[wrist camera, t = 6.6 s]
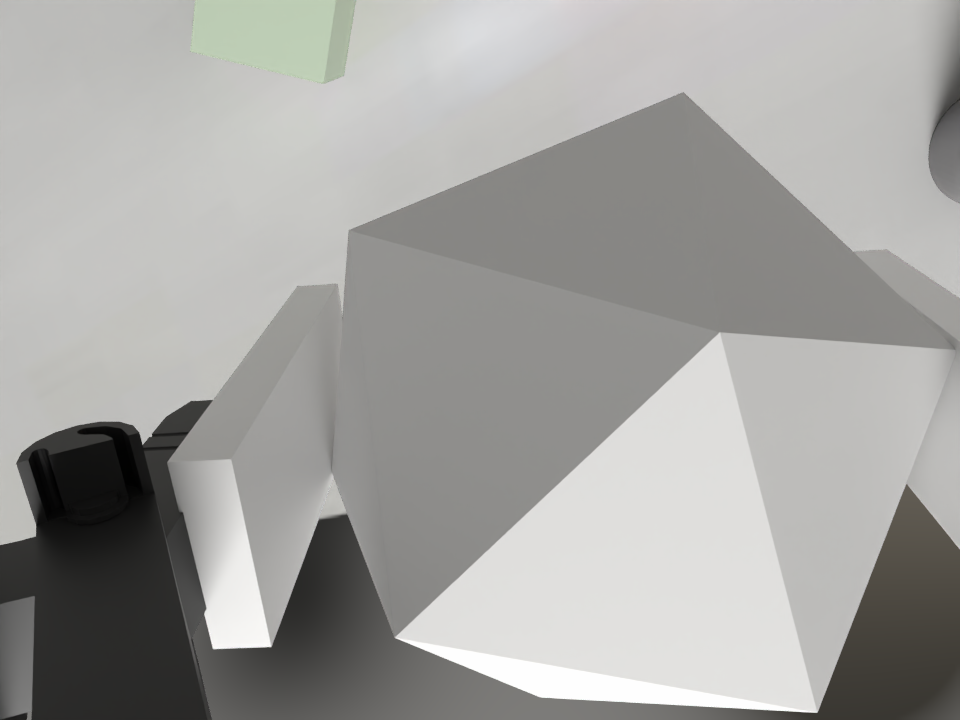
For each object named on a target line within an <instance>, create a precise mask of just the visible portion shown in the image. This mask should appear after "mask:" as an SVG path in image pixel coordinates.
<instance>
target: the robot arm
mask: <svg viewBox="0 0 960 720" xmlns="http://www.w3.org/2000/svg"><path fill="white" fill-rule="evenodd" d="M854 253H855V254H856V255H857V256H858V257H859V258H860V259H861V260H862V261H863V262H865V263H866V264H867V265H868V266H869V267H870V268H871V269H872V270H873V271H874V272H875V273H876V274H877V275H878V276H879V277H880V278H882V279H883V280H884V281H885V282H886V283H887V284H888V285H889V286H890V287H891V288H892V289H893V290H894V291H895V292H896V293H897V294H899V295H900V296H901V297H902V298H903V299H904V300H905V301H906V302H907V303H908V304H909V305H910V306H911V307H912V308H913V309H915V310H916V311H917V312H918V313H919V314H920V315H921V316H922V317H923V318H924V319H925V320H926V321H927V322H928V323H929V324H930V325H932V326H933V327H934V328H935V329H936V330H937V331H938V332H939V333H940V334H941V335H942V336H943V337H944V338H945V339H946V340H947V341H949V342H950V343H951V344H952V345H953V346H954V348H955V350H956V356H955V359H954V361H953V364H952V366H951V369H950V371H949V374H948V377H947V379H946V382H945V384H944V387H943V390H942V392H941V395H940V397H939V400H938V402H937V405H936V408H935V410H934V413H933V415H932V418H931V421H930V423H929V426H928V428H927V431H926V433H925V436H924V439H923V441H922V444H921V446H920V449H919V451H918V454H917V457H916V459H915V462H914V464H913V467H912V470H911V472H910V475H909V477H908V480H907V482H906V483H907V485H908V486H909V487H910V488H911V490H912V491H913V492H914V493H915V495H916V496H917V497H918V498H919V499H920V501H921V502H922V503H923V504H924V505H925V507H926V508H927V509H928V510H929V512H930V513H931V514H932V516H933V517H934V518H935V519H936V520H937V522H938V523H939V524H940V525H941V527H942V528H943V529H944V530H945V531H946V533H947V534H948V535H949V536H950V538H951V539H952V540H953V541H954V543H955V544H956V545H957V546H958V548H959V549H960V298H958V297H957V296H955V295H954V294H952V293H951V292H949V291H948V290H946V289H945V288H943V287H942V286H940V285H939V284H937V283H936V282H934V281H933V280H931V279H930V278H928V277H927V276H925V275H924V274H923V273H921V272H920V271H918V270H917V269H915V268H914V267H912V266H911V265H909V264H908V263H906V262H905V261H903V260H902V259H900V258H899V257H897V256H896V255H894V254H893V253H891V252H890V251H888V250H887V249H886V250H870V251H854ZM341 331H342V311H341V304H340V297H339V290H338V284H327V285H312V286H297V288H296V289H295V290H294V292H293V293H292V294H291V296H290V297H289V298H288V300H287V301H286V302H285V304H284V305H283V306H282V308H281V309H280V311H279V312H278V313H277V315H276V316H275V317H274V319H273V320H272V321H271V323H270V324H269V325H268V327H267V328H266V329H265V331H264V332H263V334H262V335H261V336H260V338H259V339H258V340H257V342H256V343H255V344H254V346H253V347H252V348H251V350H250V351H249V352H248V354H247V355H246V356H245V358H244V359H243V361H242V362H241V363H240V365H239V366H238V367H237V369H236V370H235V371H234V373H233V374H232V375H231V377H230V378H229V379H228V381H227V382H226V383H225V385H224V386H223V388H222V389H221V390H220V392H219V393H218V394H217V396H216V397H215V398H214V400H207V401H191V402H189V403H188V404H186V405H184V406H183V407H181V408H180V409H178V410H176V411H175V412H173V413H172V414H170V415H168V416H167V417H166V418H165V419H164V420H163V421H162V422H161V424H160V425H159V426H158V427H157V429H156V430H155V431H154V432H153V433H152V437H149V438H148V439H147V441H146V442H145V443H144V444H143V445H142V442H141V438H140V434H139V432H138V431H137V430H136V428H135V427H134V426H133V425H129V424H125V423H122V422H96V423H90V424H84V425H78V426H75V427H71V428H68V429H65V430H62V431H58V432H55V433H53V434H51V435H49V436H47V437H45V438H43V439H41V440H39V441H37V442H35V443H34V444H32V445H31V446H30V447H28V448H27V449H26V450H25V451H23V452H22V453H21V455H20V457H19V459H18V461H17V463H16V464H17V467H18V470H19V473H20V476H21V479H22V482H23V485H24V488H25V491H26V495H27V498H28V501H29V504H30V507H31V510H32V513H33V516H34V519H35V522H36V537H33V538H29V539H26V540H22V541H18V542H13V543H9V544H4V545H0V720H26V719H27V713H28V712H31V711H32V720H212V717H211V713H210V709H209V705H208V701H207V697H206V692H205V688H204V684H203V680H202V675H201V671H200V667H199V663H198V659H197V655H196V651H195V648H194V644H193V640H192V637H193V635H194V633H195V631H196V629H197V627H198V625H199V623H200V621H201V618H202V617H203V615H204V614H205V618H206V622H207V626H208V630H209V634H210V638H211V642H212V646H213V649H225V648H251V647H271V646H272V644H273V641H274V638H275V636H276V633H277V630H278V627H279V625H280V622H281V619H282V617H283V614H284V611H285V609H286V606H287V603H288V600H289V598H290V595H291V592H292V590H293V586H294V584H295V581H296V579H297V576H298V573H299V571H300V568H301V565H302V563H303V560H304V557H305V554H306V551H307V549H308V546H309V544H310V541H311V538H312V535H313V533H314V530H315V527H316V524H317V522H318V519H319V517H320V514H321V511H322V508H323V506H324V503H325V500H326V498H327V495H328V492H329V489H330V487H331V484H332V481H333V479H334V477H333V474H332V456H333V442H334V429H335V415H336V401H337V387H338V373H339V359H340V345H341Z"/></svg>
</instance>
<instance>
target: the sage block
mask: <svg viewBox="0 0 960 720" xmlns="http://www.w3.org/2000/svg"><path fill="white" fill-rule="evenodd" d="M355 3H356V0H195V7H194V18H193V29H192V40H191V51H190V52H193V53H198V54H202V55H206V56H210V57H214V58H218V59H222V60H227V61H231V62H235V63H239V64H243V65H247V66H251V67H255V68H260V69H264V70H268V71H272V72H276V73H280V74H284V75H289V76H293V77H297V78H301V79H305V80H309V81H313V82H317V83H322V84H325V83H327V82H330V81H332V80H335V79H337V78H340V77H342V76H344V72H345V66H346V60H347V53H348V47H349V41H350V34H351V28H352V22H353V15H354V9H355Z"/></svg>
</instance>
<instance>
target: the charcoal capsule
mask: <svg viewBox="0 0 960 720" xmlns="http://www.w3.org/2000/svg"><path fill="white" fill-rule="evenodd" d="M928 159H929V168H930V172H931V175H932V178H933V180H934V182H935V183H936V185H937V187H938V188H939V189H940V190H941V191H942V192H943V193H944V194H945V195H946V196H947V197H949V198H950V199H952V200H954V201H956V202H958V203H960V99H959V100H958V101H957V102H956V103H954V104H953V105H952V106H951V107H950V108H949V110H948V111H947V112H946V113H945V114H944V116H943V117H942V118H941V120H940V121H939V123H938V125H937V126H936V129H935V131H934V133H933V136H932V139H931V142H930V147H929V158H928Z"/></svg>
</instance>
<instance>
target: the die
mask: <svg viewBox="0 0 960 720" xmlns="http://www.w3.org/2000/svg"><path fill="white" fill-rule="evenodd" d="M955 356H956V350H955V348H954V346H953V345H952V344H951V343H950V342H949V341H947V340H946V339H945V338H944V337H943V336H942V335H941V334H940V333H939V332H938V331H937V330H936V329H935V328H934V327H933V326H932V325H930V324H929V323H928V322H927V321H926V320H925V319H924V318H923V317H922V316H921V315H920V314H919V313H918V312H917V311H916V310H915V309H913V308H912V307H911V306H910V305H909V304H908V303H907V302H906V301H905V300H904V299H903V298H902V297H901V296H900V295H899V294H897V293H896V292H895V291H894V290H893V289H892V288H891V287H890V286H889V285H888V284H887V283H886V282H885V281H884V280H883V279H882V278H880V277H879V276H878V275H877V274H876V273H875V272H874V271H873V270H872V269H871V268H870V267H869V266H868V265H867V264H866V263H865V262H863V261H862V260H861V259H860V258H859V257H858V256H857V255H856V254H855V253H854V252H853V251H852V250H851V249H850V248H849V247H847V246H846V245H845V244H844V243H843V242H842V241H841V240H840V239H839V238H838V237H837V236H836V235H835V234H834V233H833V232H832V231H830V230H829V229H828V228H827V227H826V226H825V225H824V224H823V223H822V222H821V221H820V220H819V219H818V218H817V217H816V216H815V215H813V214H812V213H811V212H810V211H809V210H808V209H807V208H806V207H805V206H804V205H803V204H802V203H801V202H800V201H799V200H797V199H796V198H795V197H794V196H793V195H792V194H791V193H790V192H789V191H788V190H787V189H786V188H785V187H784V186H783V185H782V184H780V183H779V182H778V181H777V180H776V179H775V178H774V177H773V176H772V175H771V174H770V173H769V172H768V171H767V170H766V169H765V168H763V167H762V166H761V165H760V164H759V163H758V162H757V161H756V160H755V159H754V158H753V157H752V156H751V155H750V154H749V153H747V152H746V151H745V150H744V149H743V148H742V147H741V146H740V145H739V144H738V143H737V142H736V141H735V140H734V139H733V138H732V137H730V136H729V135H728V134H727V133H726V132H725V131H724V130H723V129H722V128H721V127H720V126H719V125H718V124H717V123H716V122H715V121H713V120H712V119H711V118H710V117H709V116H708V115H707V114H706V113H705V112H704V111H703V110H702V109H701V108H700V107H699V106H697V105H696V104H695V103H694V102H693V101H692V100H691V99H690V98H689V97H688V96H687V95H686V94H685V93H684V92H683V93H680V94H678V95H676V96H673V97H671V98H668V99H666V100H663V101H661V102H659V103H656V104H654V105H651V106H649V107H647V108H644V109H642V110H639V111H637V112H634V113H632V114H630V115H627V116H625V117H622V118H620V119H617V120H615V121H613V122H610V123H608V124H605V125H603V126H600V127H598V128H596V129H593V130H591V131H588V132H586V133H584V134H581V135H579V136H576V137H574V138H571V139H569V140H567V141H564V142H562V143H559V144H557V145H554V146H552V147H550V148H547V149H545V150H542V151H540V152H537V153H535V154H533V155H530V156H528V157H525V158H523V159H520V160H518V161H516V162H513V163H511V164H508V165H506V166H504V167H501V168H499V169H496V170H494V171H491V172H489V173H487V174H484V175H482V176H479V177H477V178H474V179H472V180H470V181H467V182H465V183H462V184H460V185H457V186H455V187H453V188H450V189H448V190H445V191H443V192H441V193H438V194H436V195H433V196H431V197H428V198H426V199H424V200H421V201H419V202H416V203H414V204H411V205H409V206H407V207H404V208H402V209H399V210H397V211H394V212H392V213H390V214H387V215H385V216H382V217H380V218H377V219H375V220H373V221H370V222H368V223H365V224H363V225H361V226H358V227H356V228H353V229H351V230H349V233H348V247H347V261H346V275H345V289H344V303H343V317H342V331H341V345H340V359H339V373H338V387H337V401H336V415H335V429H334V442H333V456H332V474H333V477H334V480H335V482H336V485H337V487H338V490H339V493H340V495H341V498H342V501H343V503H344V506H345V508H346V511H347V514H348V516H349V519H350V522H351V524H352V527H353V529H354V532H355V535H356V537H357V540H358V543H359V545H360V548H361V550H362V553H363V556H364V558H365V561H366V564H367V566H368V569H369V571H370V574H371V576H372V579H373V582H374V585H375V587H376V590H377V592H378V595H379V598H380V600H381V603H382V606H383V608H384V611H385V613H386V616H387V619H388V621H389V624H390V627H391V629H392V632H393V634H394V637H395V638H397V639H399V640H402V641H404V642H407V643H409V644H411V645H414V646H416V647H419V648H422V649H424V650H426V651H429V652H431V653H434V654H436V655H438V656H441V657H443V658H446V659H448V660H451V661H453V662H455V663H458V664H461V665H463V666H465V667H468V668H470V669H473V670H475V671H477V672H480V673H483V674H485V675H488V676H490V677H492V678H495V679H497V680H500V681H502V682H504V683H507V684H509V685H512V686H514V687H516V688H519V689H521V690H524V691H526V692H529V693H531V694H534V695H536V696H538V697H543V698H562V699H581V700H598V701H616V702H634V703H636V702H637V703H653V704H670V705H671V704H672V705H688V706H689V705H690V706H708V707H725V708H743V709H762V710H779V711H797V712H815V713H817V712H818V710H819V707H820V704H821V702H822V699H823V696H824V694H825V692H826V689H827V686H828V683H829V681H830V679H831V676H832V673H833V671H834V668H835V666H836V663H837V661H838V658H839V655H840V653H841V650H842V648H843V645H844V642H845V640H846V637H847V635H848V632H849V630H850V627H851V624H852V622H853V619H854V617H855V614H856V611H857V609H858V606H859V604H860V601H861V598H862V596H863V593H864V591H865V588H866V586H867V583H868V581H869V578H870V575H871V573H872V570H873V568H874V565H875V562H876V560H877V557H878V555H879V552H880V550H881V547H882V544H883V542H884V539H885V537H886V534H887V532H888V529H889V526H890V524H891V521H892V519H893V516H894V513H895V511H896V508H897V505H898V503H899V501H900V498H901V495H902V493H903V490H904V488H905V485H906V482H907V480H908V477H909V475H910V472H911V470H912V467H913V464H914V462H915V459H916V457H917V454H918V451H919V449H920V446H921V444H922V441H923V439H924V436H925V433H926V431H927V428H928V426H929V423H930V421H931V418H932V415H933V413H934V410H935V408H936V405H937V402H938V400H939V397H940V395H941V392H942V390H943V387H944V384H945V382H946V379H947V377H948V374H949V371H950V369H951V366H952V364H953V361H954V359H955Z"/></svg>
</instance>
